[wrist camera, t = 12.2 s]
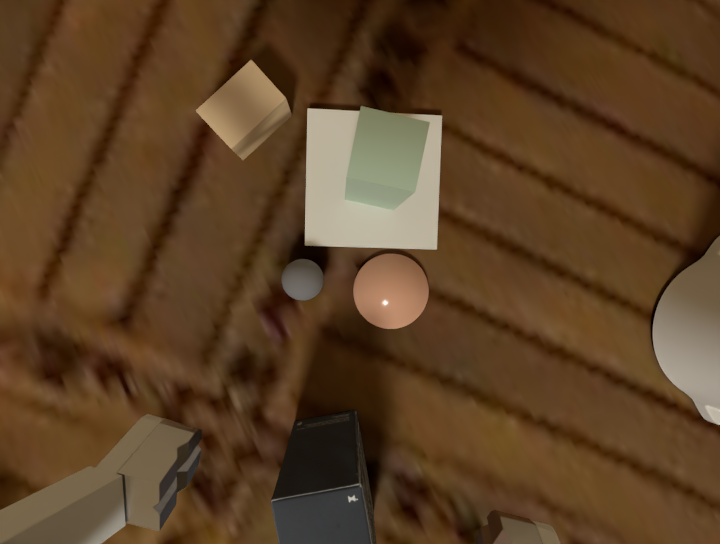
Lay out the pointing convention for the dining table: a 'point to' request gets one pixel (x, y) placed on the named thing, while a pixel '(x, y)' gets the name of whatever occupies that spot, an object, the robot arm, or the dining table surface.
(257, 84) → the oak block
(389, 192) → the sage block
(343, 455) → the small box
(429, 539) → the dining table surface
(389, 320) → the peach flat disc
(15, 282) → the dining table surface
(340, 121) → the beige mat
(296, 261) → the rubber ball
